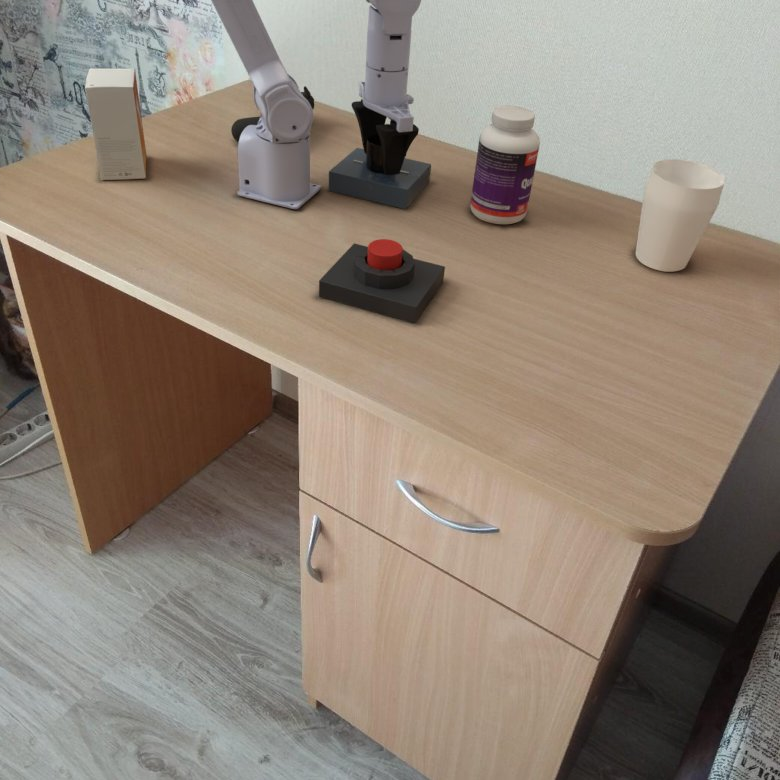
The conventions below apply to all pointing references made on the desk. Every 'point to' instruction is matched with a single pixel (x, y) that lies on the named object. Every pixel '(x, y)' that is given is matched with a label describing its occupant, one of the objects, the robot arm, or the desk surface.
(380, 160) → the dial
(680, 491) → the desk surface
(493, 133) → the pill bottle
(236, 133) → the gaming controller
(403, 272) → the button housing
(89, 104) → the small box
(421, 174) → the dial panel
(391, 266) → the lid button
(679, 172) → the cup
